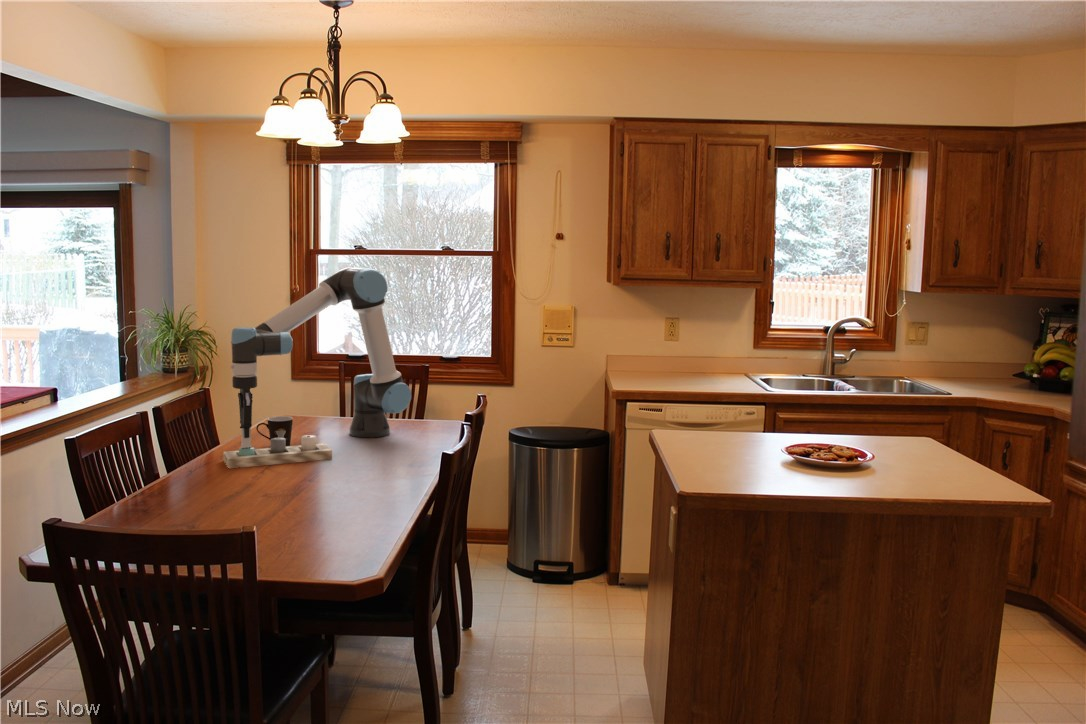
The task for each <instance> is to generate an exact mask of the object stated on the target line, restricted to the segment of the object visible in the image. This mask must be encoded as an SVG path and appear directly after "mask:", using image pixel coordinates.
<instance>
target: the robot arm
mask: <svg viewBox="0 0 1086 724" xmlns="http://www.w3.org/2000/svg"><path fill="white" fill-rule="evenodd" d="M387 293H388V283H387V279H386V277H385V276H384V274H382V273H381V272H380V271H379V270H377V269H373V268H371V267H354V266H353V267H352V266H351V267H346V268H345V267H344V268H342V269H341V270H338V271H337V272H334V274H331V275H330V276H329V277H326V279H324V280H322V281H320V283H319V284H318V287H317V288H314V289H313V290H312V291H311V292H308V293H307V294H306V295H304V296H302V297H301V298H300V299H298V300H297V301H295V302H293V303H291V304H290V305H289V306H287V307H285V308H283V309H282V310H281V311H279V312H278V313H276V314H274V315H273V316H272V317H270V318H269V319H267V320H265V321H263V322H262V323H261V324H259V325H257V326H256V327H248V326H246V327H244V326H243V327H241V326H240V327H235V328H232V331H231V337H230V339H231V341H230V344H231V362H232V363H231V364H232V365H229V366H230V367H229V368H230V369H231V370H232V373H231V374H232V375H233V376H232V378H231V380H232V387H233V388H234V389H236V390H237V389H238V390H239V392H237V397H238V405H239V406H238V407H239V425H240V426H239V429H240V430H241V431H240V432H241V434H240V435H241V447H242V448H246V447H252V433H251V432H252V430H251V428H252V426H253V424H252V423H253V422H252V419H253V417H252V416H253V415H252V414H253V393H252V392H251V389H255V388H257V386H258V376H257V374H258V357H263V356H266V357H267V356H282V355H289V354H290V353H291V352H292V350H293V345H294V343H293V341H294V340H293V338H292V336H291V334H290V332H292V331H293V330H294V329H295V330H296V328H298V327H300V326H301V325H302V324H304V323H305V322H307V321H308V320H310V319H311V318H313V317H314V316H316V315H317V314H319V313H320V312H322V311H324V310H325V309H327V308H328V307H330V306H337V305H338V304H339V303H342V302H345V301H349V300H350V303H351V306H352V310H354V311H355V312H357V314H358V317H359V322H360V325H361V330H362V334H363V338H364V339H363V340H364V343H365V348H366V352H367V356H368V360H369V364H370V369H371V373H365V374H357V375H355V376H354V379H353V417H352V420H351V423H350V425H349V426H350V427H349V435H350V436H352V437H354V438H356V437H357V438H379V437H386V436H388V435H390V433H391V427H390V424H389V421H388V418H387V417H388V416H387V415H386V413H388V414H400V413H401V412H403V411H405V410H406V409H407V407H409V404H410V402H411V400H412V391H411V389H410V386H408V384H406V383H405V382H404V380H403V377H402V373H401V372H400V371H398V370H397V368H396V364H395V360H394V354H393V351H392V346H391V342H390V336H389V334H388V329H387V325H386V320H385V316H384V315H385V314H384V311H383V306H384V305H385V304H386V300H385V297H386V296H387V295H386V294H387Z"/></svg>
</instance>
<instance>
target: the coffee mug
mask: <svg viewBox="0 0 1086 724" xmlns="http://www.w3.org/2000/svg"><path fill="white" fill-rule="evenodd" d="M266 420H267V423H265V422H260V423H257V425H256V432H257V433H258V434H259V435H260V436H261V437H264V438H265V439H267V440H269V441H270V439H272V438H285V439H286V446H291V440H292V433H293V432H292V431H293V423H294V418H293V417H292V416H284V415H282V416H272V417H268V418H267V419H266ZM261 425H264V426H266V428H267V429H268V433H269V436H267V435H265V434H263V433H261V431H260V430H259V426H261Z"/></svg>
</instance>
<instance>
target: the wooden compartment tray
mask: <svg viewBox="0 0 1086 724" xmlns="http://www.w3.org/2000/svg"><path fill="white" fill-rule="evenodd" d="M222 455H223V462H224V461H225V462H224V464H225V463H226V464H225V466H226V465H227V466H226V467H228V468H229V469H237V468H238V469H239V467H240V468H249V467H258V466H259V467H260V466H269V465H270V466H271V465H282V464H292V463H301V462H313V461H324V460H326V461H327V460H332V459H333V450H332V448H330V447H329V446H328V445H327V444H326V443H316V450H308V451H302V450H301V444H299V445H290V446H286V452H285V453H274V454H271V447H264V448H254V455H251V456H239V450H228V451H223V454H222ZM228 468H227V469H228Z"/></svg>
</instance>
